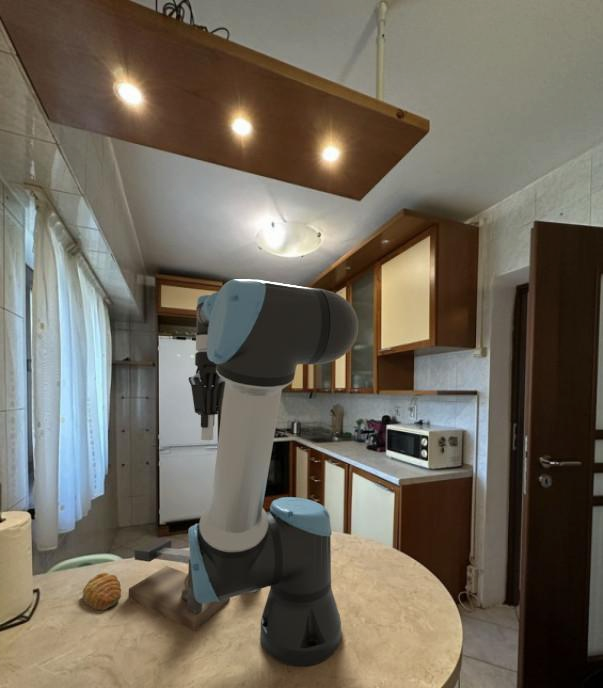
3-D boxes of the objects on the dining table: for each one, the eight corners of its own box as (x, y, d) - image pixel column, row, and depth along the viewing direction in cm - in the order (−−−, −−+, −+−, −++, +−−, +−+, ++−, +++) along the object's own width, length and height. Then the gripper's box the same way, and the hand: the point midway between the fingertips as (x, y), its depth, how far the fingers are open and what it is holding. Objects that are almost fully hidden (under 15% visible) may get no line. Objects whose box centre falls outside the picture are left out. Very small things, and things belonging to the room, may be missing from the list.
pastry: (129, 601, 71) (130, 582, 71) (94, 618, 66) (95, 598, 66) (112, 583, 77) (113, 566, 77) (78, 598, 72) (80, 580, 72)
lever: (222, 559, 70) (221, 545, 71) (201, 573, 65) (200, 558, 65) (157, 551, 79) (156, 539, 80) (134, 563, 74) (134, 550, 75)
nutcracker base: (229, 599, 71) (231, 543, 72) (195, 630, 62) (197, 565, 63) (166, 574, 80) (168, 525, 81) (128, 598, 71) (131, 542, 72)
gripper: (214, 354, 97) (212, 435, 95) (181, 350, 86) (177, 442, 83) (235, 353, 94) (233, 437, 91) (203, 349, 82) (200, 445, 80)
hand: (207, 439), depth 87 cm, fingers closed
